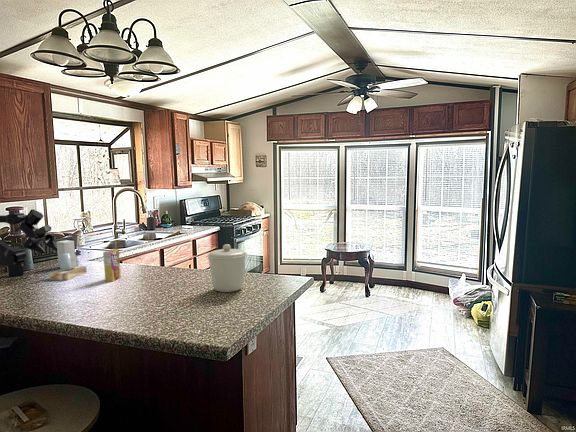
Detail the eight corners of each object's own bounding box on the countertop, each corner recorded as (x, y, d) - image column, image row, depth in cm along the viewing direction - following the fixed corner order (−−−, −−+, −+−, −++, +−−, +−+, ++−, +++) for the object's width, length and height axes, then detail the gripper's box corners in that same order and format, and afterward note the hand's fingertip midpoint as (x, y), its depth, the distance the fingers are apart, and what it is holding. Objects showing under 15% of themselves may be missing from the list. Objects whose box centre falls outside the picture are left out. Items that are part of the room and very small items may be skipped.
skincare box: (76, 266, 238) (74, 240, 236) (65, 268, 232) (63, 242, 230) (68, 265, 242) (67, 239, 240) (57, 267, 236) (55, 241, 235)
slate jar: (62, 277, 211) (60, 255, 210) (60, 276, 215) (58, 254, 214) (72, 276, 214) (70, 254, 213) (70, 274, 218) (69, 252, 217)
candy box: (113, 277, 211) (111, 248, 209) (121, 277, 210) (119, 248, 209) (104, 281, 202) (102, 251, 200) (112, 281, 201) (111, 251, 200)
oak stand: (49, 279, 207) (49, 273, 207) (69, 272, 223) (69, 266, 223) (68, 280, 206) (67, 273, 206) (86, 272, 222) (86, 266, 222)
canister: (240, 296, 174) (239, 248, 172) (201, 294, 178) (199, 247, 175) (252, 284, 192) (251, 241, 189) (216, 283, 195) (215, 240, 193)
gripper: (26, 222, 204) (48, 244, 204) (51, 218, 222) (71, 238, 222) (13, 237, 206) (35, 259, 205) (39, 232, 224) (59, 252, 224)
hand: (51, 251), depth 214 cm, fingers open, 9 cm apart
